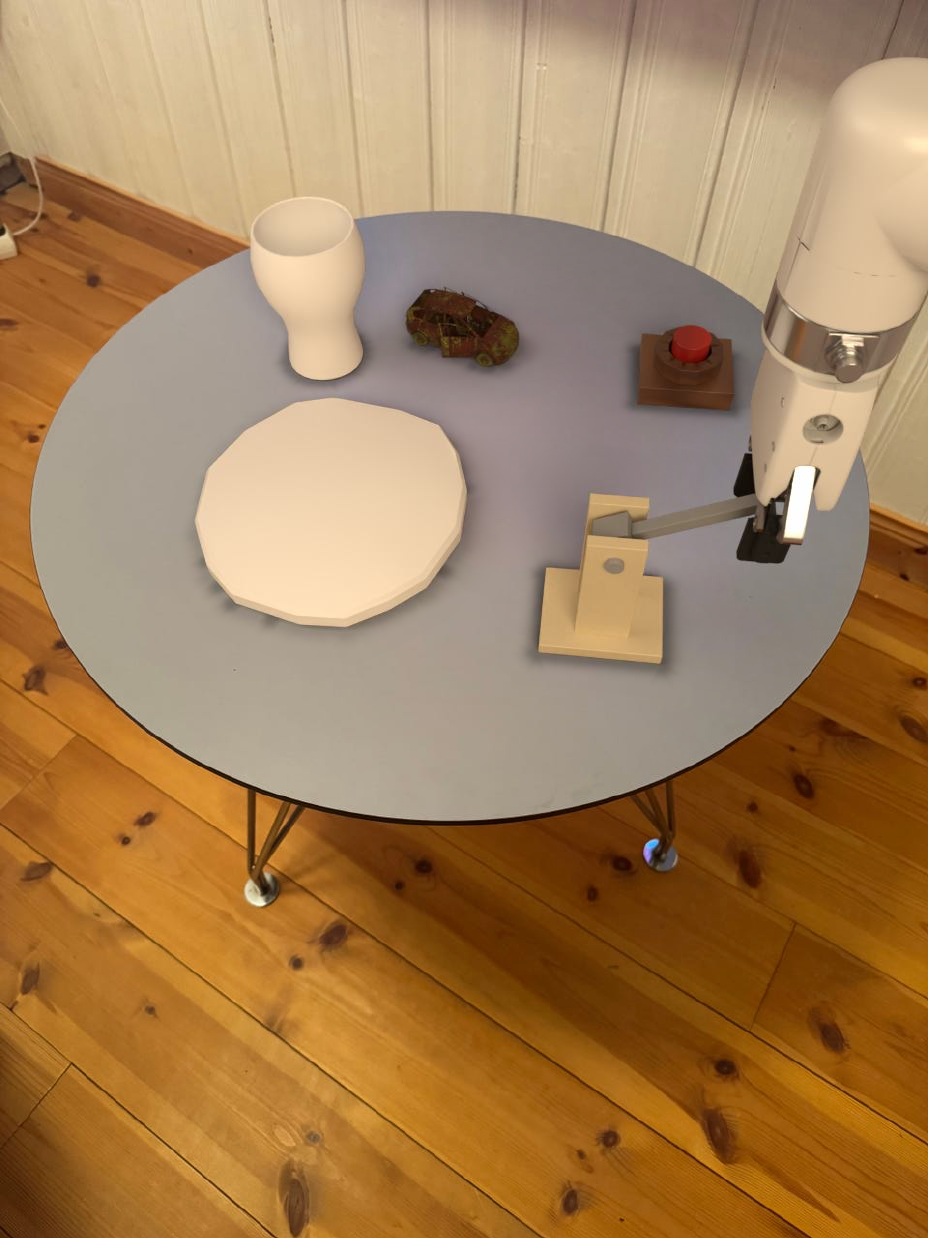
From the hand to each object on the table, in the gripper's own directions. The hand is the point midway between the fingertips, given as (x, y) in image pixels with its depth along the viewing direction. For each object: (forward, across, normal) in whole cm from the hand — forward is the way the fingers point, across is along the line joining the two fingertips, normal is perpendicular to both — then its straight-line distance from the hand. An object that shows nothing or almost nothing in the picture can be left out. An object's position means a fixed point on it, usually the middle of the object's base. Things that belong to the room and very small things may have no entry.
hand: (757, 524), depth 66 cm
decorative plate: (+14, +9, +35) cm, 38 cm away
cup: (+14, +30, +40) cm, 52 cm away
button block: (+14, +30, +3) cm, 33 cm away
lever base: (+14, 0, +10) cm, 17 cm away
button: (+10, +30, +3) cm, 32 cm away
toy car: (+14, +33, +26) cm, 44 cm away
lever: (+1, 0, +5) cm, 5 cm away
